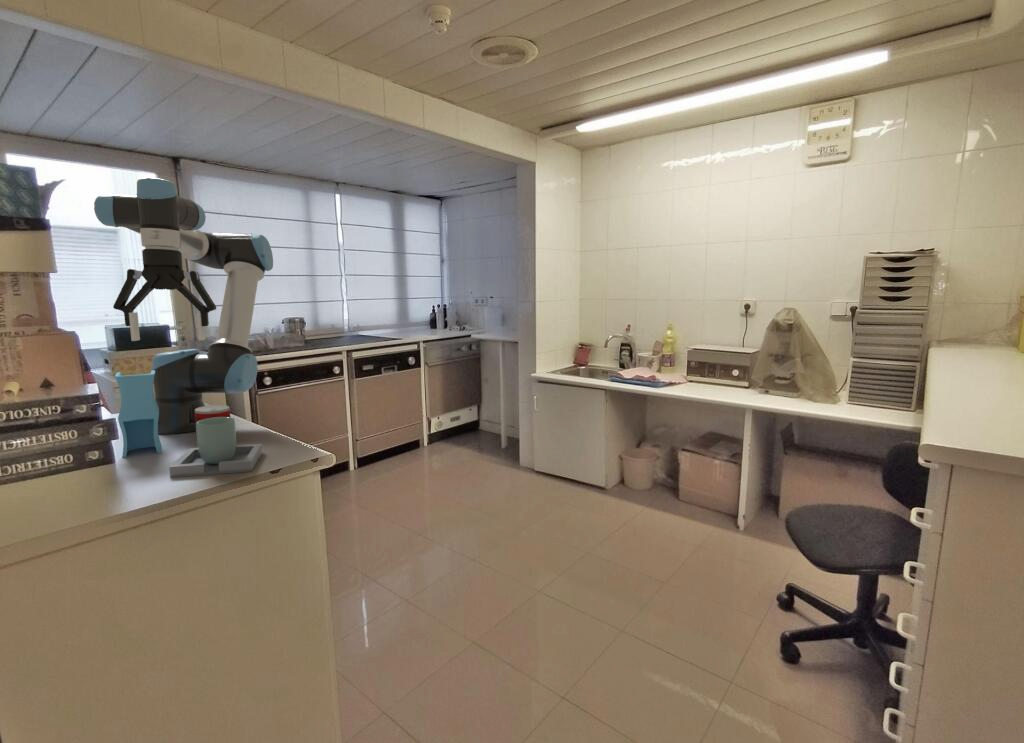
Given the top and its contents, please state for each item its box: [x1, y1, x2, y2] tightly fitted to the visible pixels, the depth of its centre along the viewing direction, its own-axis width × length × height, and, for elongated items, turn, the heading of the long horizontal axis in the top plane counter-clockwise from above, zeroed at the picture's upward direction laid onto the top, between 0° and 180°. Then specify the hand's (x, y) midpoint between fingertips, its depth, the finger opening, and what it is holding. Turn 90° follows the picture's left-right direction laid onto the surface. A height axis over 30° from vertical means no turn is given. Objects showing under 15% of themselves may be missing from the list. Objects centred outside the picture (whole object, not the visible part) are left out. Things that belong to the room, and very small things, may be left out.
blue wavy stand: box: [114, 369, 163, 459], centre depth 125 cm, size 8×8×20 cm
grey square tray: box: [169, 443, 263, 478], centre depth 117 cm, size 14×16×2 cm
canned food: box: [195, 404, 231, 448], centre depth 128 cm, size 8×8×11 cm
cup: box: [195, 416, 237, 465], centre depth 117 cm, size 8×8×10 cm
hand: (169, 340), depth 118 cm, fingers open, 13 cm apart
